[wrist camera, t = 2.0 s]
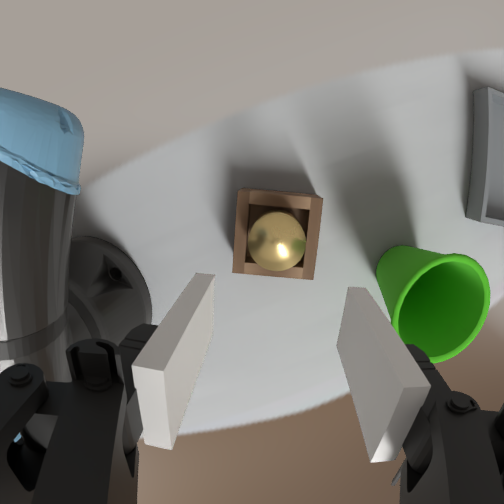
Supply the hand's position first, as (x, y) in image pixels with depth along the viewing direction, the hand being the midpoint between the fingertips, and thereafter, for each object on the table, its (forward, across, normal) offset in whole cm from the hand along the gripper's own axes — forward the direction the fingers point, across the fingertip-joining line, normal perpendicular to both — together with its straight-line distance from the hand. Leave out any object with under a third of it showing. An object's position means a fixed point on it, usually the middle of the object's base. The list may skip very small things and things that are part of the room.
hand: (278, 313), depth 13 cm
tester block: (+19, 0, 0) cm, 19 cm away
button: (+15, 0, 0) cm, 15 cm away
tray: (+19, +28, +10) cm, 35 cm away
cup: (+19, +13, -3) cm, 23 cm away
